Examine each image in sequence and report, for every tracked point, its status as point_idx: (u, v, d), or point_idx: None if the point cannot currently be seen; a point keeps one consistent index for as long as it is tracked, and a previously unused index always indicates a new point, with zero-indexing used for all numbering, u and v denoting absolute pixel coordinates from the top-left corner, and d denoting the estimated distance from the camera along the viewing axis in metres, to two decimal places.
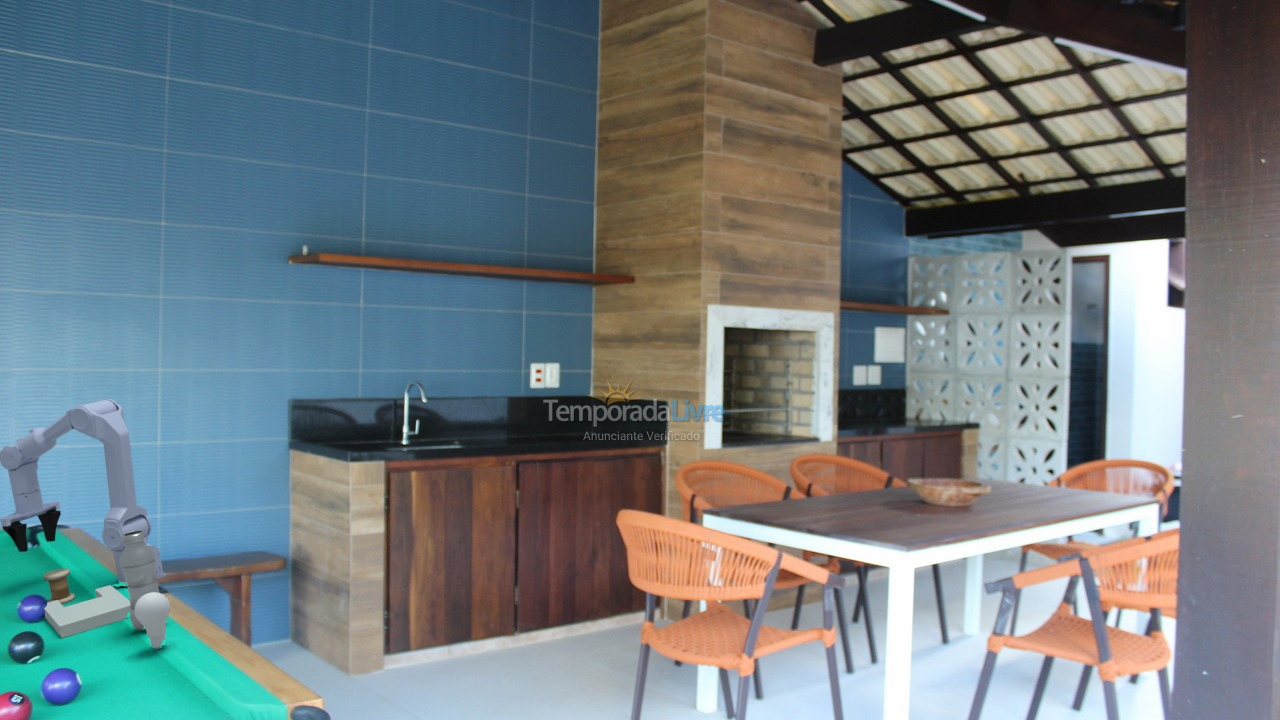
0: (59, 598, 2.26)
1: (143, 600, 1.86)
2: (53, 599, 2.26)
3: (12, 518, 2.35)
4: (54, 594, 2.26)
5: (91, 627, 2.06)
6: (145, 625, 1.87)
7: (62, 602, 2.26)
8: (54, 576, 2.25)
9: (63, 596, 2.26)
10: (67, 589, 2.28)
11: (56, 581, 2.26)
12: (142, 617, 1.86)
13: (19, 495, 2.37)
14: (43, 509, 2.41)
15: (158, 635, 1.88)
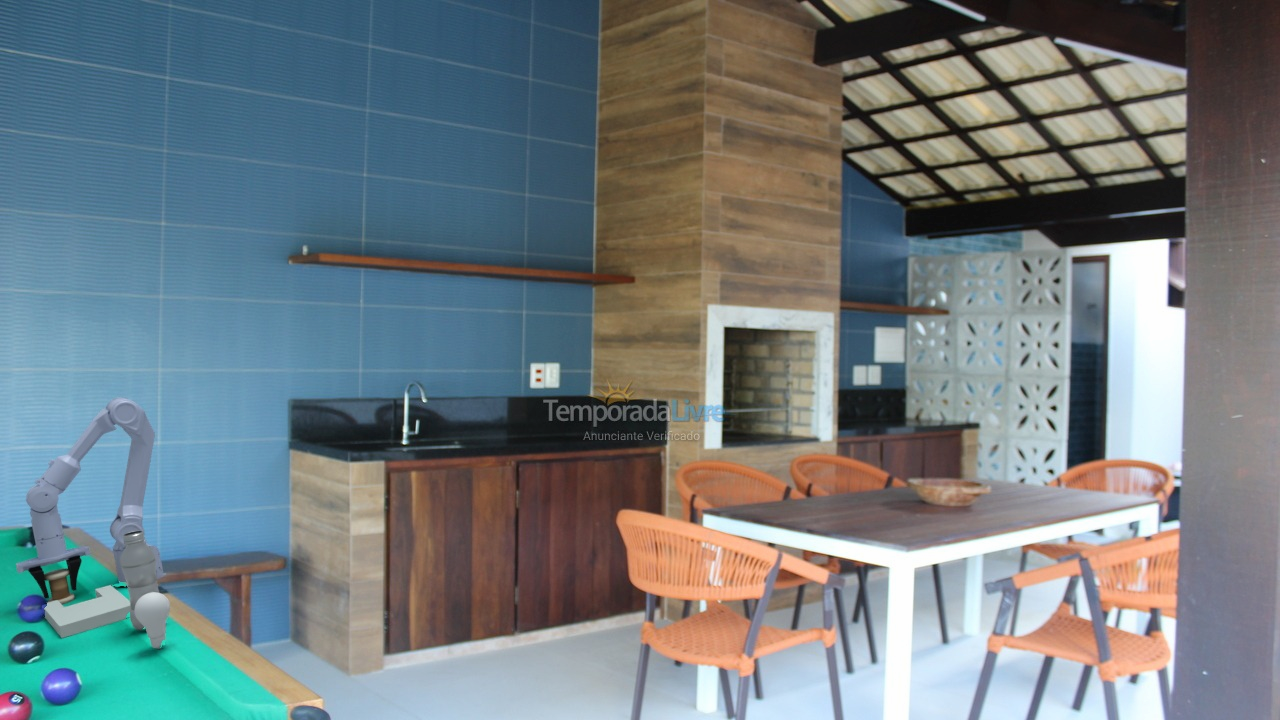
0: (59, 598, 2.26)
1: (143, 600, 1.86)
2: (53, 599, 2.26)
3: (25, 565, 2.22)
4: (54, 594, 2.26)
5: (91, 627, 2.06)
6: (145, 625, 1.87)
7: (62, 602, 2.26)
8: (54, 576, 2.25)
9: (63, 596, 2.26)
10: (67, 589, 2.28)
11: (56, 581, 2.26)
12: (142, 617, 1.86)
13: (36, 540, 2.24)
14: (61, 557, 2.25)
15: (158, 635, 1.88)
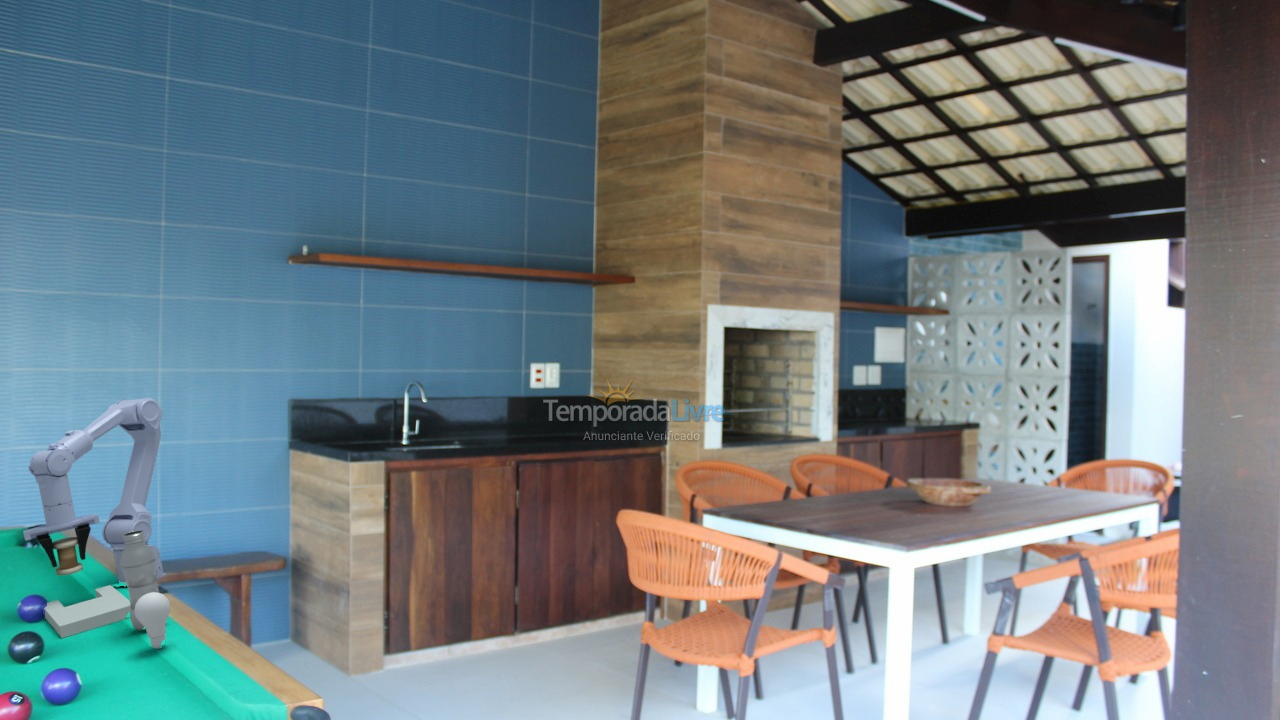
0: (67, 567, 2.19)
1: (143, 600, 1.86)
2: (61, 568, 2.19)
3: (32, 532, 2.15)
4: (62, 563, 2.19)
5: (91, 627, 2.06)
6: (145, 625, 1.87)
7: (70, 572, 2.19)
8: (62, 545, 2.18)
9: (71, 565, 2.20)
10: (75, 558, 2.21)
11: (64, 550, 2.19)
12: (142, 617, 1.86)
13: (44, 507, 2.17)
14: (70, 524, 2.18)
15: (158, 635, 1.88)
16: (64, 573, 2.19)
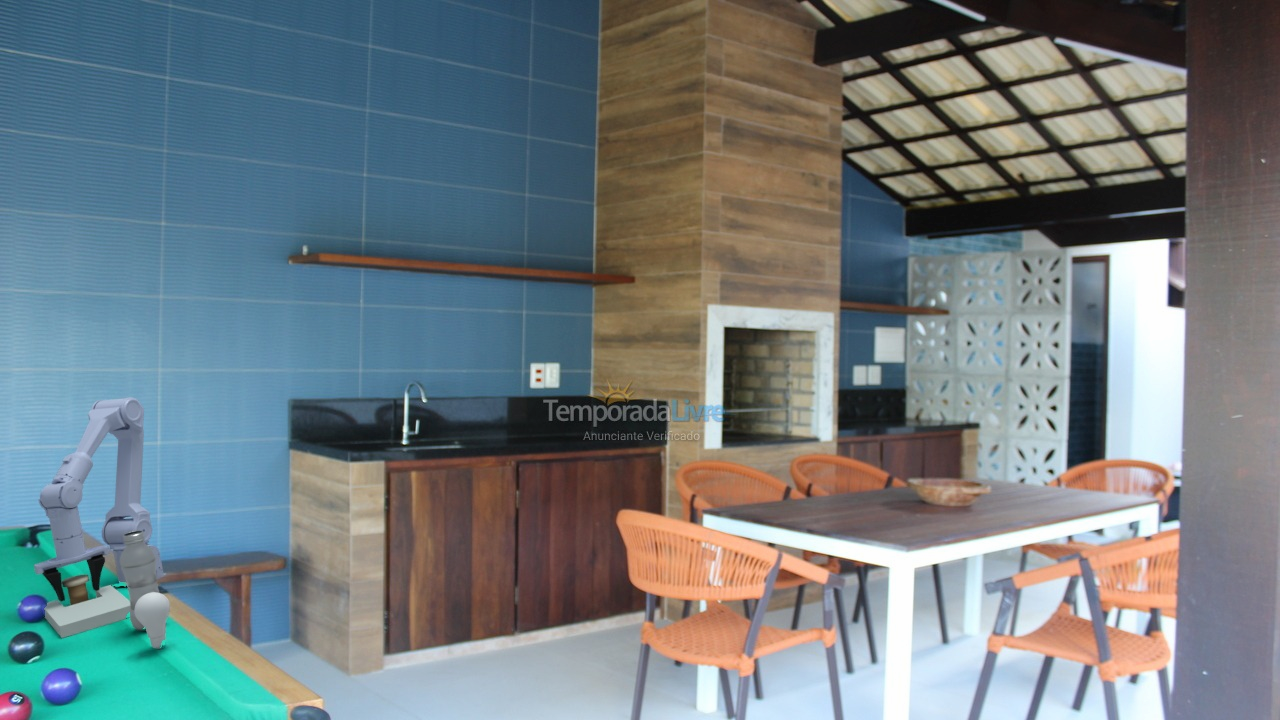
0: None
1: (143, 600, 1.86)
2: None
3: (44, 566, 2.14)
4: (74, 601, 2.19)
5: (91, 627, 2.06)
6: (145, 625, 1.87)
7: None
8: (75, 582, 2.18)
9: None
10: (87, 595, 2.20)
11: (76, 587, 2.18)
12: (142, 617, 1.86)
13: (55, 540, 2.16)
14: (82, 556, 2.18)
15: (158, 635, 1.88)
16: None
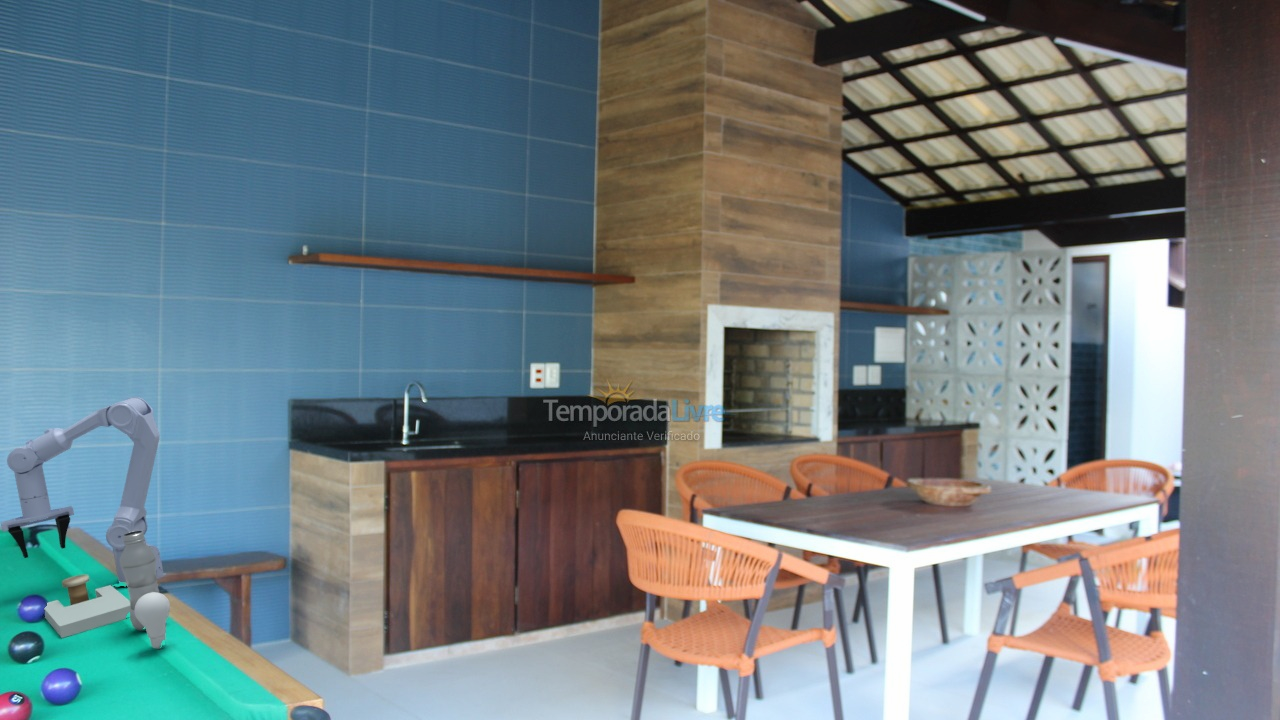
0: None
1: (143, 600, 1.86)
2: None
3: (9, 523, 2.27)
4: (74, 601, 2.19)
5: (91, 627, 2.06)
6: (145, 625, 1.87)
7: None
8: (75, 582, 2.17)
9: None
10: (87, 596, 2.20)
11: (76, 587, 2.18)
12: (142, 617, 1.86)
13: (21, 500, 2.29)
14: (45, 516, 2.31)
15: (158, 635, 1.88)
16: None
